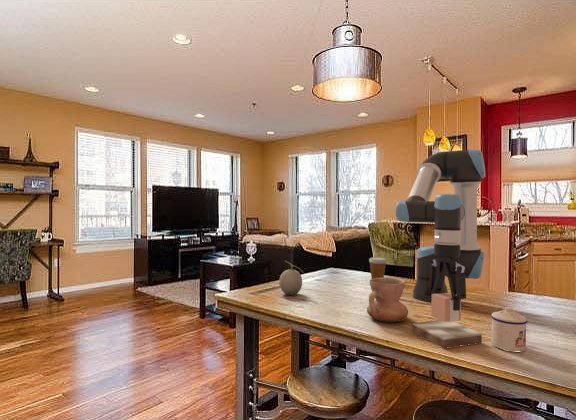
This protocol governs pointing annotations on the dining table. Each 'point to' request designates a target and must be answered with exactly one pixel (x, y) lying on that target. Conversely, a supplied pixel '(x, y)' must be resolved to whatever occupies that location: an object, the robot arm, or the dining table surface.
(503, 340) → the teacup with lid
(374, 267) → the disposable coffee cup
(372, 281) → the ceramic jug
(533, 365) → the dining table surface
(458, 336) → the plinth
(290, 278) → the fruit
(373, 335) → the dining table surface
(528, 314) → the dining table surface
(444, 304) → the block
